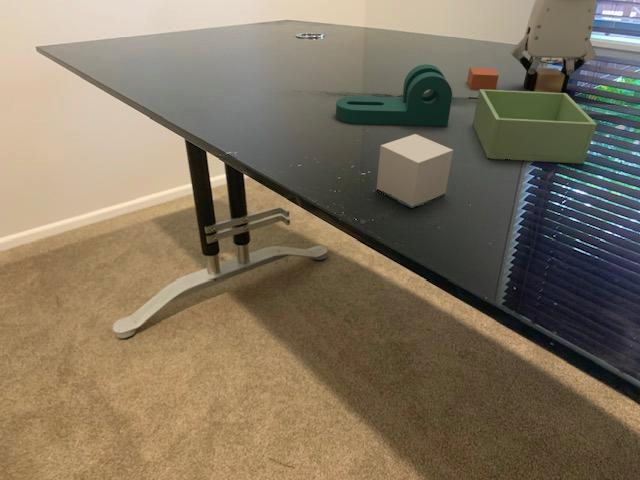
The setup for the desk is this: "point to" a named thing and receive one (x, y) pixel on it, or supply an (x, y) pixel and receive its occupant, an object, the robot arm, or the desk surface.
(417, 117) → the bracket
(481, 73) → the terracotta block
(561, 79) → the maple block
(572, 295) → the desk surface
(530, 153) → the basket
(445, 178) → the white cube
